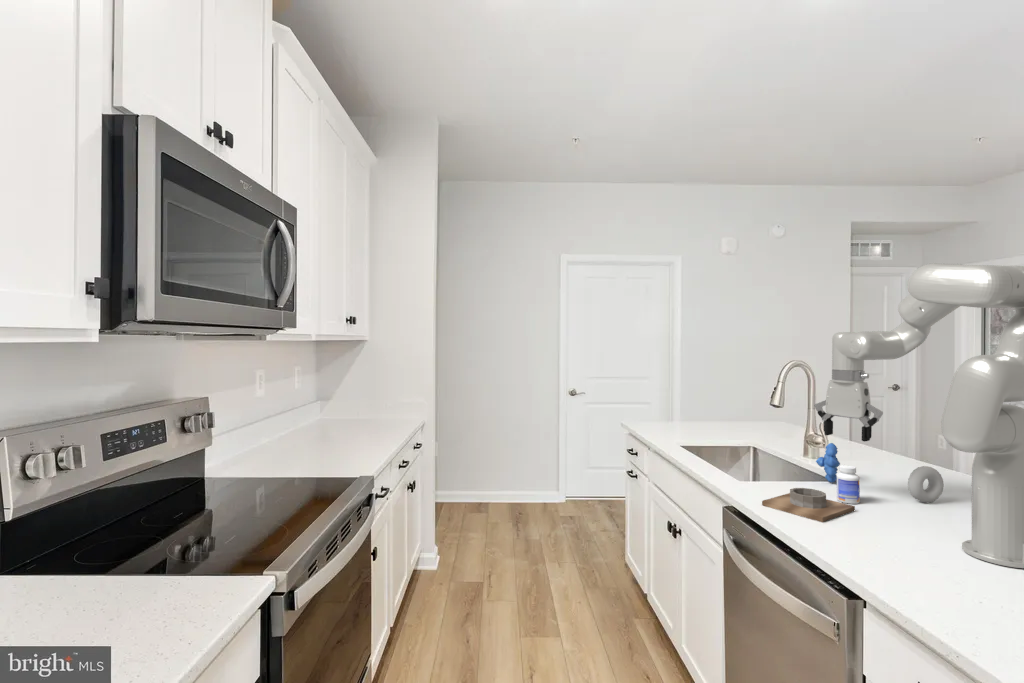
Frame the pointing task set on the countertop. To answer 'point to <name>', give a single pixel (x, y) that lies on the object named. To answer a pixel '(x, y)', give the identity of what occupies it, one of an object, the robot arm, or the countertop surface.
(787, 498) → the base
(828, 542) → the countertop surface
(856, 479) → the pill bottle
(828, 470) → the grapes
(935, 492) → the donut
